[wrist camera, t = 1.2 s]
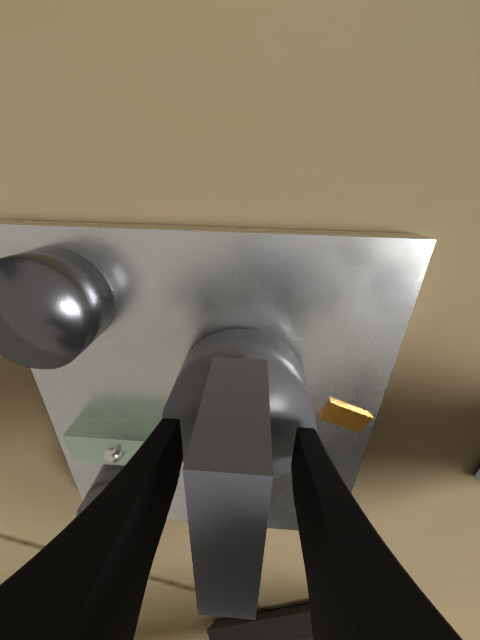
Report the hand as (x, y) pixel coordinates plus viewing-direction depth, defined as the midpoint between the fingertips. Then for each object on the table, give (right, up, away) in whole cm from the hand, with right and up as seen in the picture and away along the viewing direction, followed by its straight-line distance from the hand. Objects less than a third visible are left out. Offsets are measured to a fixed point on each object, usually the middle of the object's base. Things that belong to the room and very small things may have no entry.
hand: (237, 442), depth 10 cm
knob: (0, -1, +4) cm, 4 cm away
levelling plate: (-2, 0, +6) cm, 6 cm away
